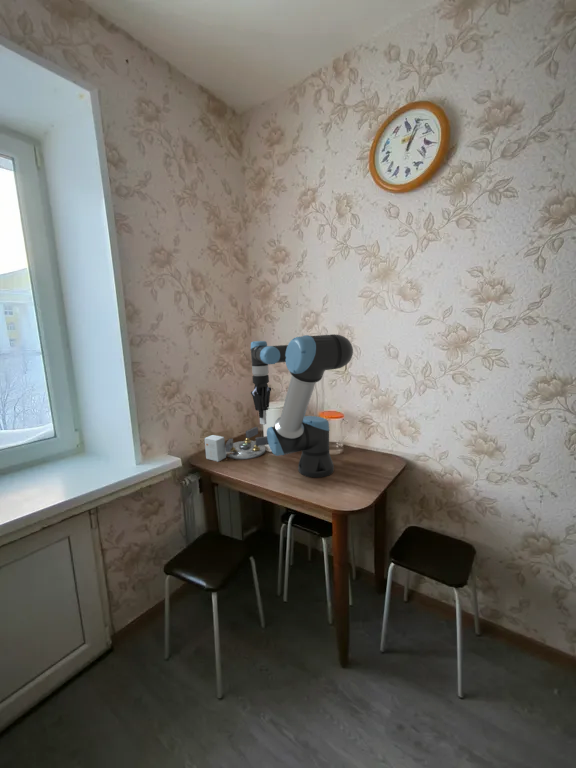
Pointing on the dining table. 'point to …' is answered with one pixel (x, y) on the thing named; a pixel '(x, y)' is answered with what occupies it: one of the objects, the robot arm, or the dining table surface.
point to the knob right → (251, 434)
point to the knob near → (260, 442)
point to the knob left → (229, 445)
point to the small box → (215, 448)
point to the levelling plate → (245, 450)
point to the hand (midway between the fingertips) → (263, 423)
